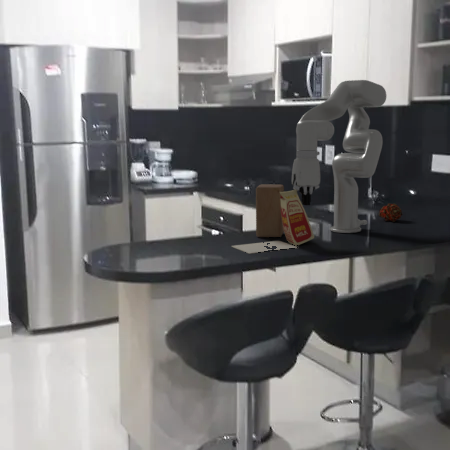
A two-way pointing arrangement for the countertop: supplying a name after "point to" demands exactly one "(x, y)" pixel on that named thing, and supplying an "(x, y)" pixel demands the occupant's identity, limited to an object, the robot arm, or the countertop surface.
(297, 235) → the milk carton
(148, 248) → the countertop surface
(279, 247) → the mat
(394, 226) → the countertop surface
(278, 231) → the wooden block
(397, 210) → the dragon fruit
